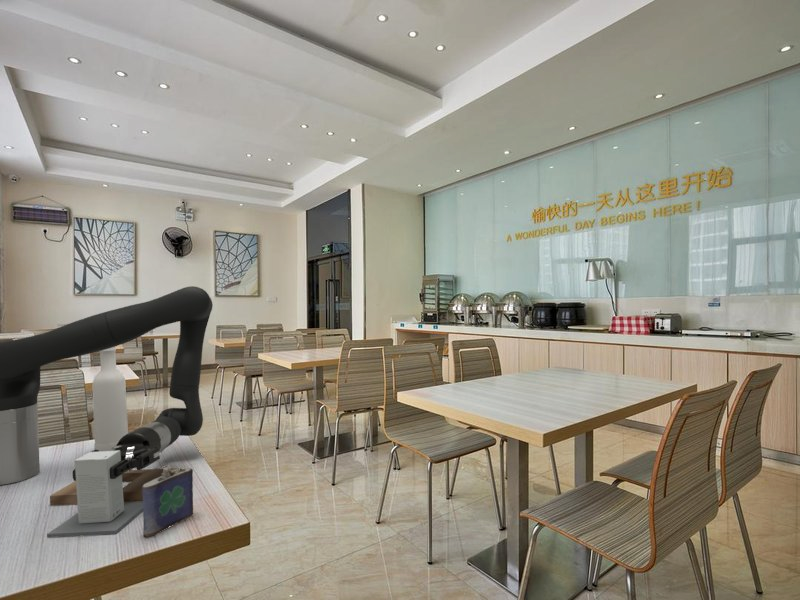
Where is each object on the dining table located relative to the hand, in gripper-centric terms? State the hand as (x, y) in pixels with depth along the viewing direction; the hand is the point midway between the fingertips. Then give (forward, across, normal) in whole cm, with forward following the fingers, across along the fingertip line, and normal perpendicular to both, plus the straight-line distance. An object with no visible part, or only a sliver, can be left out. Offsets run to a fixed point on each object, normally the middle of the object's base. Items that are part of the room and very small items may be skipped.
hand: (93, 474), depth 78 cm
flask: (+1, +14, +10) cm, 17 cm away
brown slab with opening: (-15, -5, +10) cm, 19 cm away
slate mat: (-2, 0, +10) cm, 10 cm away
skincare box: (-2, 0, +9) cm, 9 cm away
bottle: (-41, -23, +10) cm, 48 cm away
